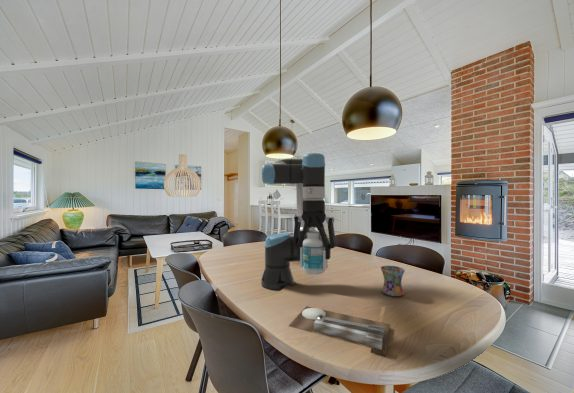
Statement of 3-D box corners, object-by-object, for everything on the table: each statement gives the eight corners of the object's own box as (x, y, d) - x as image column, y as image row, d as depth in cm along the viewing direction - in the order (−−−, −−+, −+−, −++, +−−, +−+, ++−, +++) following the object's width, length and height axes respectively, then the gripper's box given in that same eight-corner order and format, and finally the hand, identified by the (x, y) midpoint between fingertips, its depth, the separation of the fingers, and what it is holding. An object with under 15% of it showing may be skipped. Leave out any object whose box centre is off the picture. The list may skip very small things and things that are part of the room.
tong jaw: (315, 325, 74) (315, 317, 74) (317, 321, 77) (317, 313, 77) (383, 339, 67) (383, 329, 67) (383, 334, 70) (383, 325, 70)
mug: (406, 299, 97) (406, 273, 97) (381, 296, 100) (381, 270, 100) (402, 288, 108) (402, 264, 108) (380, 286, 111) (380, 263, 111)
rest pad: (298, 316, 81) (298, 315, 81) (307, 307, 88) (307, 306, 88) (321, 322, 77) (321, 321, 77) (328, 311, 84) (328, 310, 84)
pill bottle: (301, 269, 86) (301, 230, 86) (321, 268, 86) (321, 230, 86) (304, 275, 78) (304, 233, 78) (327, 275, 79) (327, 233, 79)
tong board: (288, 329, 75) (288, 318, 75) (306, 309, 88) (306, 299, 88) (385, 356, 62) (385, 342, 62) (389, 328, 76) (389, 316, 76)
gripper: (282, 199, 84) (282, 266, 84) (340, 200, 74) (340, 274, 74) (291, 199, 90) (291, 261, 90) (346, 199, 81) (346, 268, 81)
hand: (313, 267), depth 82 cm, fingers closed on pill bottle, 7 cm apart
